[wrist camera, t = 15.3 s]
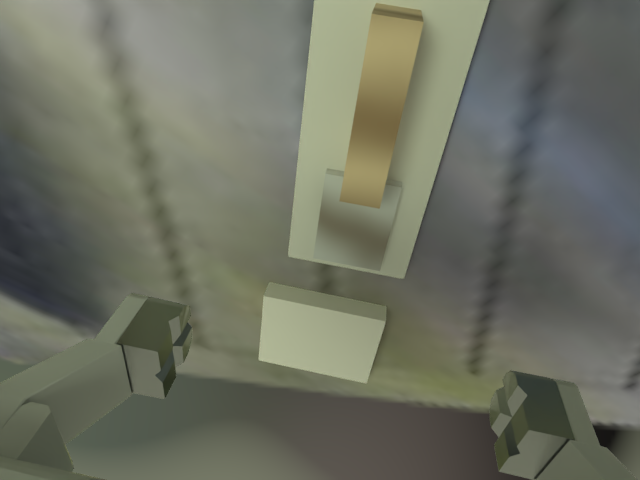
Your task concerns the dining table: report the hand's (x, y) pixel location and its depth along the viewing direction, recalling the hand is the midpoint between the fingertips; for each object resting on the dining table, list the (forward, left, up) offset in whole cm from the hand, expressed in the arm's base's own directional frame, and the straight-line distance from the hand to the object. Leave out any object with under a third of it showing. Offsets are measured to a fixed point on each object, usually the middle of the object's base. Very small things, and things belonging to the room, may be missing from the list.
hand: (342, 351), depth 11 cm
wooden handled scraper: (+2, 0, -19) cm, 19 cm away
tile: (+16, -1, -19) cm, 25 cm away
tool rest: (+2, 0, -20) cm, 20 cm away
